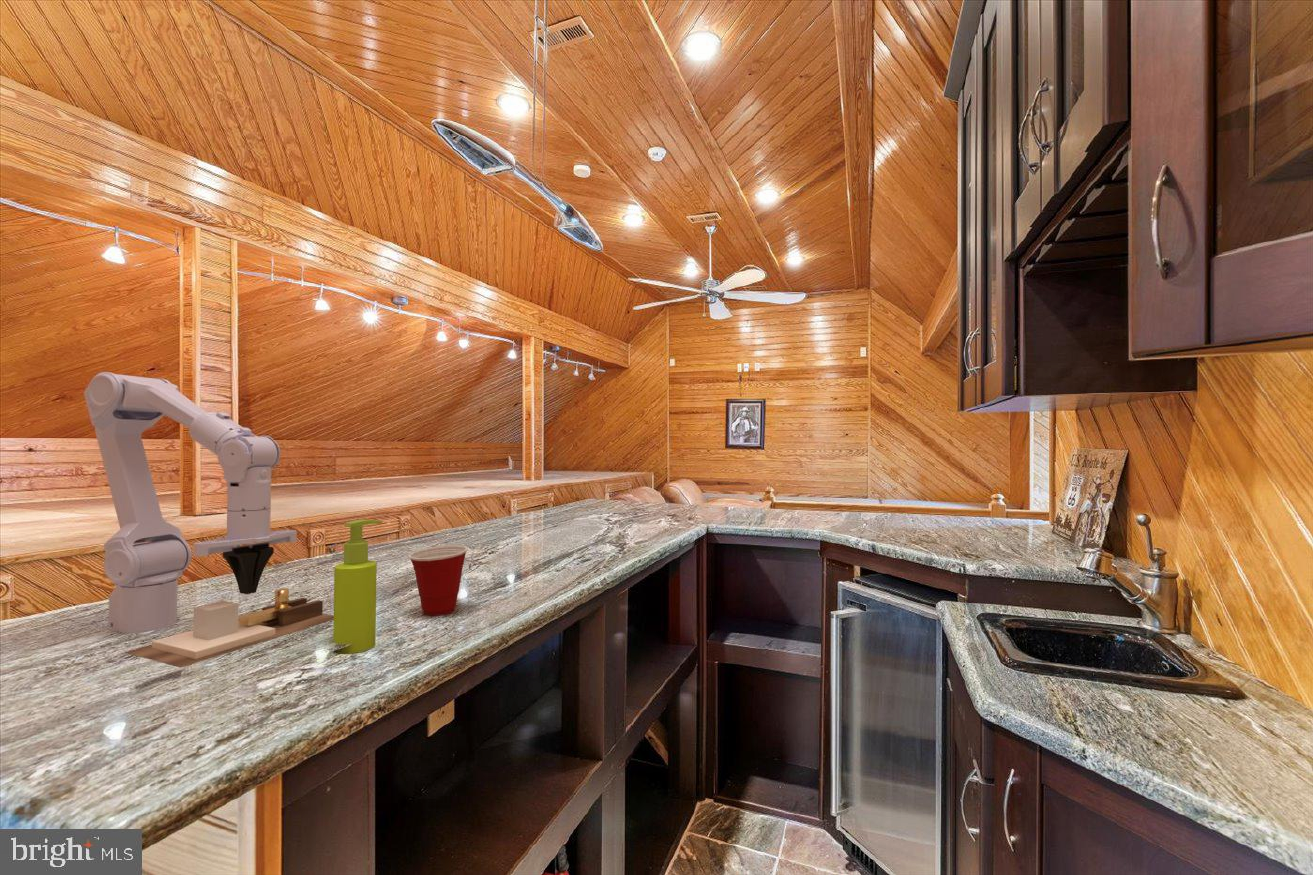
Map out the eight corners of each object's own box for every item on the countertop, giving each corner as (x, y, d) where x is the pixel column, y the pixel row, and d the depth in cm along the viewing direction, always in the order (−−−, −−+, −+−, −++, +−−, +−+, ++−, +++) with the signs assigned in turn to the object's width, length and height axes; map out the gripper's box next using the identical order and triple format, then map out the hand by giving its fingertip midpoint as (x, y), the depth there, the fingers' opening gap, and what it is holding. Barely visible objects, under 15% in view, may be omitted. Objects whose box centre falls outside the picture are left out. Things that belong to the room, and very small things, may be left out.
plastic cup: (397, 611, 105) (398, 549, 105) (452, 600, 112) (452, 542, 113) (421, 624, 97) (422, 557, 97) (477, 611, 105) (478, 549, 105)
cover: (151, 647, 81) (152, 611, 81) (232, 625, 91) (233, 593, 92) (195, 659, 77) (196, 620, 77) (275, 634, 87) (275, 600, 87)
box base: (124, 662, 80) (125, 635, 80) (289, 615, 102) (289, 594, 102) (180, 678, 74) (181, 648, 74) (341, 625, 96) (341, 602, 96)
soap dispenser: (389, 642, 88) (391, 519, 89) (349, 656, 82) (351, 524, 82) (364, 636, 91) (366, 517, 91) (324, 650, 85) (326, 522, 85)
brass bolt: (239, 623, 88) (239, 598, 89) (282, 611, 95) (283, 587, 95) (248, 625, 88) (248, 599, 88) (291, 613, 94) (292, 589, 94)
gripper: (213, 515, 81) (212, 607, 80) (308, 506, 94) (307, 584, 94) (185, 513, 83) (184, 602, 83) (282, 504, 97) (281, 580, 96)
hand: (248, 592), depth 89 cm, fingers closed
